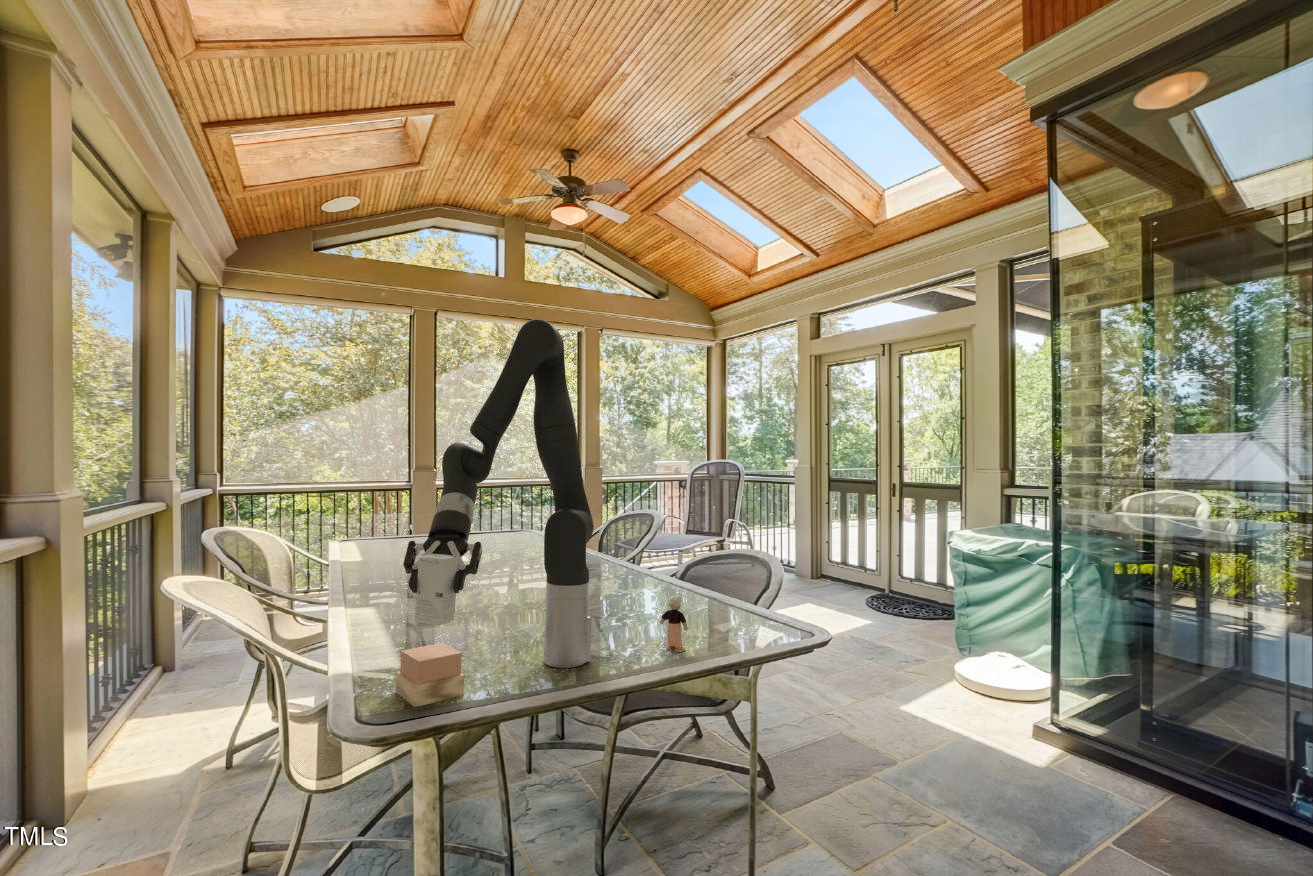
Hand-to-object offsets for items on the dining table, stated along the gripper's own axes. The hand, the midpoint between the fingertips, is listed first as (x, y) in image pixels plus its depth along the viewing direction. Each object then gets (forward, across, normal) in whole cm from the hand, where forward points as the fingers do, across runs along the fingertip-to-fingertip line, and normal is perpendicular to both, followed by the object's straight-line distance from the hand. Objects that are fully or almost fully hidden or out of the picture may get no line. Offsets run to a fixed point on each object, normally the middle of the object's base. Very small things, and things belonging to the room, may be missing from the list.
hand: (434, 590), depth 112 cm
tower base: (+13, -1, +15) cm, 20 cm away
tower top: (+10, -1, +12) cm, 16 cm away
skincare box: (+3, 0, +5) cm, 6 cm away
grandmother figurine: (-6, +48, +34) cm, 59 cm away
